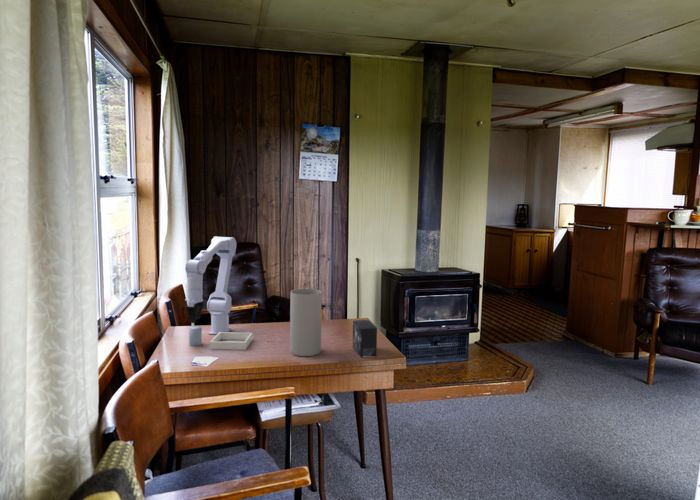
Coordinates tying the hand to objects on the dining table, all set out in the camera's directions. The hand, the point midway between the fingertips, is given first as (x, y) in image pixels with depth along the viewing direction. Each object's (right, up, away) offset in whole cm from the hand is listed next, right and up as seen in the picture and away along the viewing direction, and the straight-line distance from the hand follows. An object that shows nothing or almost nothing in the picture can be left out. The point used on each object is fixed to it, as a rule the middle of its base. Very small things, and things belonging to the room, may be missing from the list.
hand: (194, 320), depth 207 cm
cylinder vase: (+47, -12, -5) cm, 48 cm away
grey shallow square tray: (+15, -10, +3) cm, 18 cm away
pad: (+15, -10, +3) cm, 18 cm away
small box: (+71, -13, -3) cm, 72 cm away
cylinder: (0, -10, +2) cm, 10 cm away
